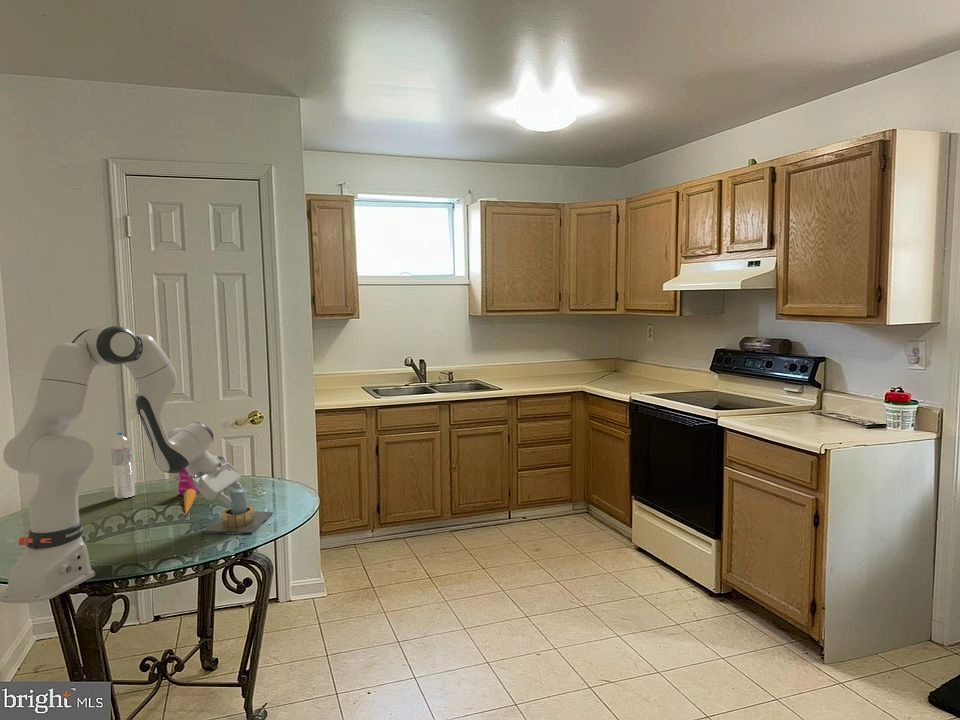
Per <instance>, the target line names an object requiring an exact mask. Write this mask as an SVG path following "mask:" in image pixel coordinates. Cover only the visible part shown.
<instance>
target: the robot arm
mask: <svg viewBox="0 0 960 720" xmlns="http://www.w3.org/2000/svg"><path fill="white" fill-rule="evenodd" d="M114 365H124V366H125V367H126V368H127V369H128V371H129V372H130V374H131V376H132V378H133V379H134V382H135V384H136V387H137V398H136V401H135V405H136V410H137V412H138V415H139V418H140V421H141V423H142V426H143V429H144V430H145V434H146V437H147V438H148V441H149V443H150V445H151V449H152V453H153V458H154V461H155V463H156V465H157V467H158V468H159V469H160V470H161V471H162V472H164V473H167V474H176V473H180V472H182V471H183V470H184V469H186V470H187V472H188V473H189V474H190V475H191V476H192V477H193V482H194V483H195V487H196V488H197V489H198V491H199V493H200V494H201V495H202V496H203V498H205V499H206V500H207V501H212V500H213V499H215V498H216V499H217V500H219V501H221V502H223V503H225V504H226V505H227V506H229V505H231V502H232V501H233V499H232V498H231V497H230V496H227V495H226V494H225V493H224V492H225V491H227V490H229V489H230V488H231V487H232V488H233V489H234V490H236V489H244V488H243V487H242V484H241V483H240V480H241V479H242V475H241V473H240V471H238V470H237V469H236V468H235V466H234V465H232V464H231V463H230V462H229V461H227V460H228V459H227V458H226V457H225V456H224V455H213V454H212V453H210V452H209V451H207V450H208V449H209V448H210V447H211V446H212V445H213V443H214V438H215V437H214V432H213V431H212V429H211V427H209V426H208V425H207V424H205V423H202V422H198V421H193V422H192V423H190V424H188V425H186V426H184V427H176V428H173V429H172V430H170V431H169V432H168V433H167V429H166V428H165V425H164V423H163V420H162V415H161V414H162V410H163V407H164V405H165V404H166V402H167V401H168V399H169V398H170V396H171V395H172V393H174V391H175V388H176V386H177V383H178V375H177V372H176V370H175V367H174V366H173V364H172V362H171V360H170V358H168V355H167V354H166V353H165V351H164V349H162V347H161V345H159V343H158V342H157V340H155V339H154V338H153V337H152V336H151V335H149V334H144V333H141V334H135V333H134V332H133V331H131V330H130V329H128V328H125V327H123V326H119V325H112V326H98V327H94V328H89V329H85V330H83V331H81V332H80V333H79V334H78V335H77V336H76V337H75V338H74V339H73V340H72V341H71V342H61V343H58V344H56V345H55V346H54V347H52V348H51V351H50V353H49V354H48V356H47V360H46V361H45V364H44V367H43V370H42V373H41V377H40V381H39V385H38V389H37V393H36V397H35V401H34V405H33V408H32V411H31V413H30V414H29V416H28V417H27V420H26V422H25V424H24V425H23V427H22V428H21V429H20V431H19V432H18V433H17V434H16V435H15V437H12V438H11V439H10V440H9V441H8V442H7V443H6V445H5V446H4V449H3V453H2V454H3V460H4V463H5V464H6V466H7V467H9V468H10V469H12V470H15V471H16V472H19V473H22V474H25V475H34V476H37V477H38V485H37V490H36V492H35V494H33V495H32V496H31V497H30V498H29V500H28V503H27V505H28V507H27V508H28V515H29V526H30V527H29V528H30V529H29V531H28V534H27V537H25V536H21V537H19V538H18V545H20V546H26V549H25V550H24V551H23V553H22V554H21V556H20V557H19V558H18V560H17V562H16V563H15V564H14V566H13V567H12V569H11V570H10V571H9V573H8V576H7V577H8V580H7V588H6V589H4V590H3V591H1V593H0V603H7V604H28V603H31V604H32V603H38V602H44V601H48V600H52V599H53V598H55V597H56V596H59V595H60V594H62V593H63V594H64V593H65V592H67V591H68V590H71V589H72V588H74V587H76V586H78V585H80V584H82V583H84V582H86V581H88V580H89V579H91V578H93V577H95V576H96V573H95V570H93V569H92V567H91V566H92V565H91V562H90V556H89V551H88V547H87V545H86V544H85V541H84V539H83V537H82V535H83V534H84V533H83V525H82V524H83V523H82V520H80V511H79V510H80V509H79V490H80V489H79V488H80V485H81V481H82V478H83V476H84V474H85V473H87V471H89V470H90V468H91V466H92V465H93V463H94V459H95V452H94V449H93V446H92V445H91V443H89V442H88V441H86V440H85V439H81V438H80V437H76V436H75V435H66V432H67V431H68V430H69V427H70V426H71V424H73V423H74V421H76V420H77V419H79V417H81V415H82V414H83V411H84V406H85V403H86V397H87V394H88V393H87V391H88V387H89V383H90V376H91V374H92V371H93V370H94V368H95V367H96V366H104V367H108V366H114Z"/></svg>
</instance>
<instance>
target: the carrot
mask: <svg viewBox="0 0 960 720" xmlns="http://www.w3.org/2000/svg"><path fill="white" fill-rule="evenodd" d="M196 498H197V494H196V491H195V490H193V489H188V490H187V491H186V492H185V493H184V496H183V502H184V512H185V515H187V514H188V512H189V511H190V510H191V508H192V506H193V504H194V502H195V500H196Z"/></svg>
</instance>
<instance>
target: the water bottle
mask: <svg viewBox="0 0 960 720" xmlns="http://www.w3.org/2000/svg"><path fill="white" fill-rule="evenodd" d="M116 434H117V435H116V437H114V438H113V440H112V441H111V443H110V449H111V451H110V452H111V461H112V464H111V467H112V478H113V479H112V480H113V488H114V498H115V497H116V498H128V497H132V496H134V495H135V496H136V486H135V471H134V462H133V454H132V452H133V451H132V441H131V440H130V439H129V438H128V437H126V436H124V431H117V432H116ZM135 496H134V497H135ZM116 498H115V499H116ZM132 498H133V497H132Z"/></svg>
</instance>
